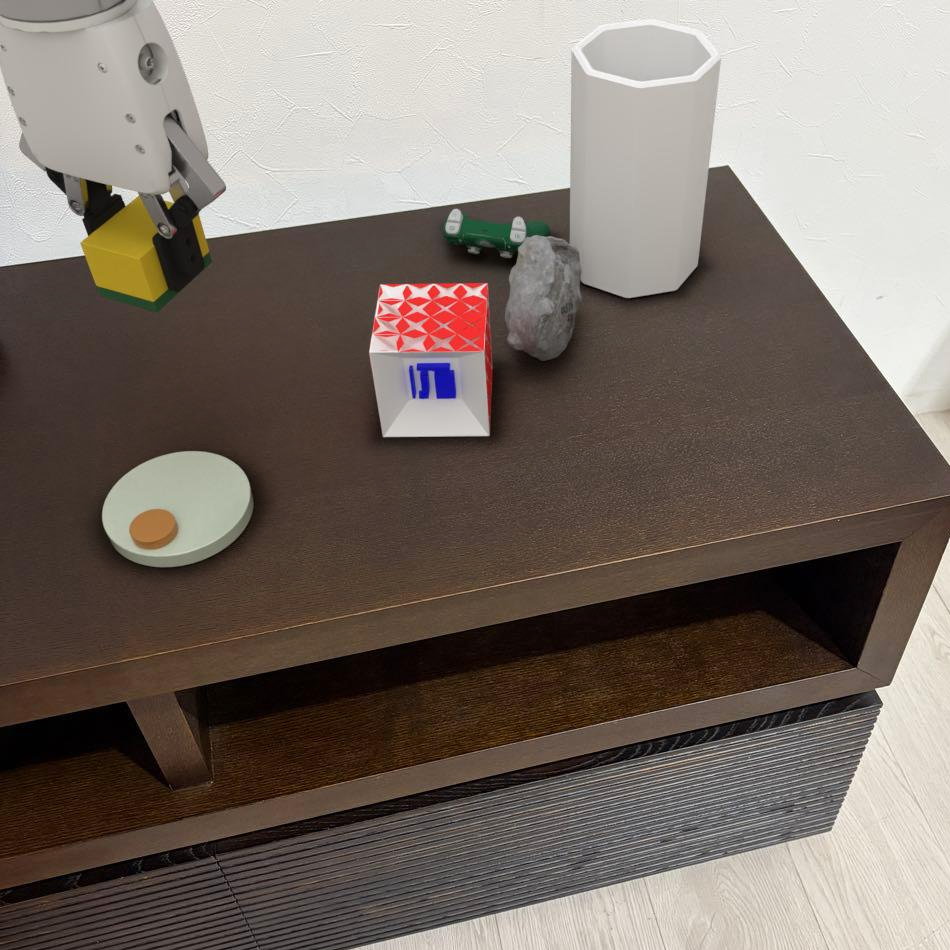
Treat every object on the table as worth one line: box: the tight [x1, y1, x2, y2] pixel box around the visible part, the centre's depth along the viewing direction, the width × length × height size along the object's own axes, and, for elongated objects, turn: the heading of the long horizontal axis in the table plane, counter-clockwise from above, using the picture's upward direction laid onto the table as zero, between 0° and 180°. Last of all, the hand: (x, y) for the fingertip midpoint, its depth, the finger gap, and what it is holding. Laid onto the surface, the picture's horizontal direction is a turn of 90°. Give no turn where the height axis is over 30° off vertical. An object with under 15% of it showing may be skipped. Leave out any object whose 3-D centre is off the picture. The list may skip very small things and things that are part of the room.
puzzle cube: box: [368, 282, 494, 438], centre depth 81 cm, size 8×8×8 cm
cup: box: [569, 18, 722, 299], centre depth 89 cm, size 11×11×18 cm
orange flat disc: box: [129, 509, 178, 549], centre depth 73 cm, size 3×3×1 cm
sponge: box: [80, 195, 213, 313], centre depth 70 cm, size 6×4×4 cm
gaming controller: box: [442, 208, 552, 259], centre depth 96 cm, size 9×4×6 cm
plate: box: [101, 450, 255, 568], centre depth 76 cm, size 10×10×1 cm
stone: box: [504, 235, 583, 362], centre depth 84 cm, size 9×7×10 cm
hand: (153, 267), depth 71 cm, fingers closed on sponge, 4 cm apart
